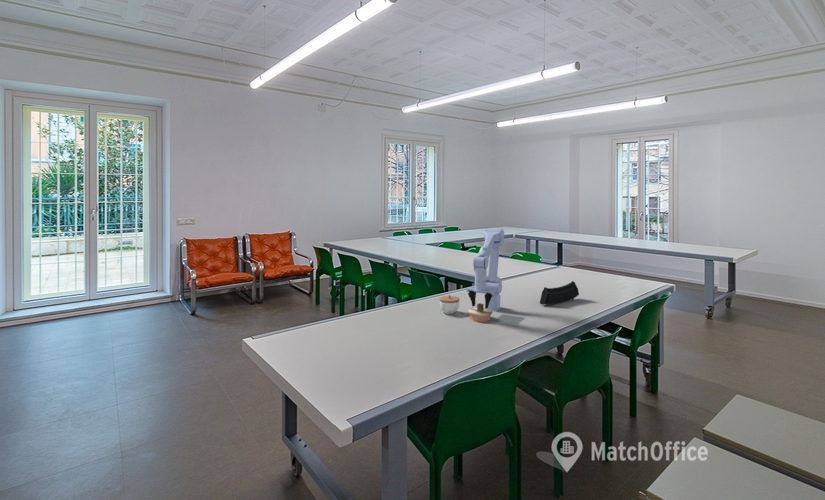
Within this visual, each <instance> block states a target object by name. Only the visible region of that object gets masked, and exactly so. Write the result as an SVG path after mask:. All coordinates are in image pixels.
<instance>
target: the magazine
mask: <svg viewBox="0 0 825 500" xmlns="http://www.w3.org/2000/svg"><path fill="white" fill-rule="evenodd" d="M577 286H578V285H577V284H576V282H575V281H574V280H572V281H571V282H570V283H567V284H565V285H562V286H558V287H550V288H548V287H545V286H544V288H543V290H542V292H541V295H540V300H539V304H540V305H558V304H559V305H560V304H563V303H566V302H569V301H572V300H574V299H575V298H577V297H578V296H579V294H580V293H579V288H578V287H577Z"/></svg>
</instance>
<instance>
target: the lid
mask: <svg viewBox="0 0 825 500" xmlns="http://www.w3.org/2000/svg"><path fill="white" fill-rule="evenodd" d="M467 312H468V314H469V315H470V314H471V315H476V316H488V315H490V316H491V315H493V311H492V310H490V309H486V308H485V303H477V304H476V307H472V308H469V309H468V311H467Z"/></svg>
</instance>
